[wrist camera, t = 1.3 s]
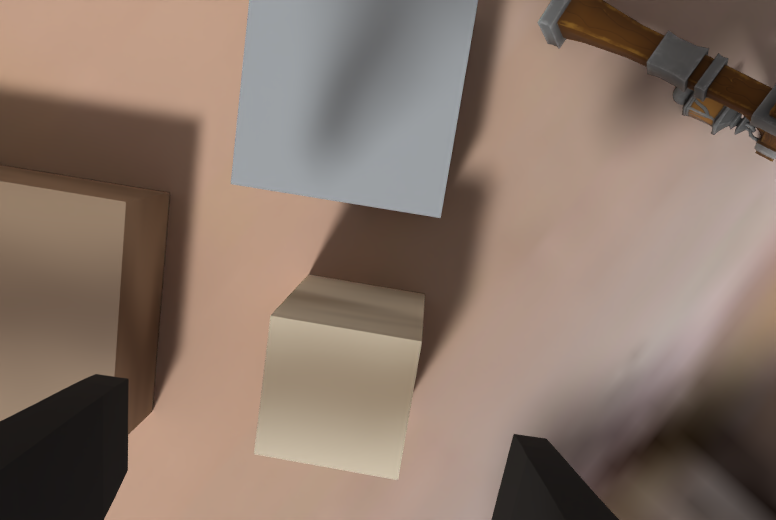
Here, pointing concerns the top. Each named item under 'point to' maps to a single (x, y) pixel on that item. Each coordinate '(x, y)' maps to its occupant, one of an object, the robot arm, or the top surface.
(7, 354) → the tan square slab
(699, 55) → the toy blunderbuss
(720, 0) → the top surface
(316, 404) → the maple block
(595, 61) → the top surface
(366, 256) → the top surface
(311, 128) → the slate grey block
